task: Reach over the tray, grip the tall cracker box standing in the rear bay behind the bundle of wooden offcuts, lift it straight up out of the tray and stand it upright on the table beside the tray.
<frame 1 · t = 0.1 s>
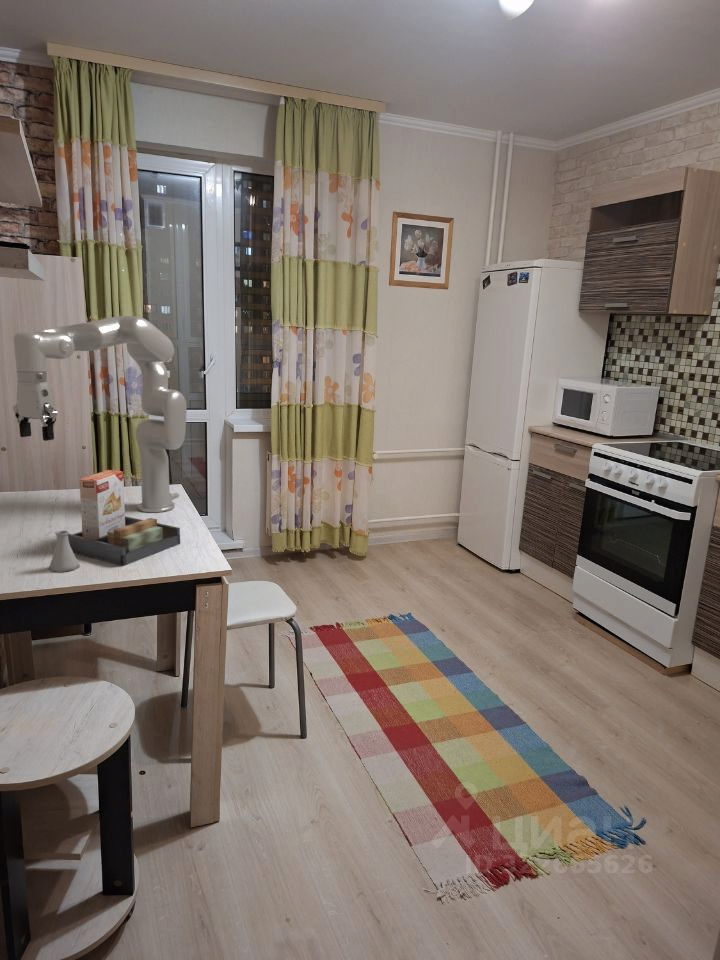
hand: (37, 438, 186), 31 cm above the table, tool pointing down, fingers open, 9 cm apart
tray: (120, 546, 192), on the table
cracker box: (105, 543, 195), resting in tray
flask: (64, 568, 174), on the table
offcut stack: (137, 550, 189), resting in tray
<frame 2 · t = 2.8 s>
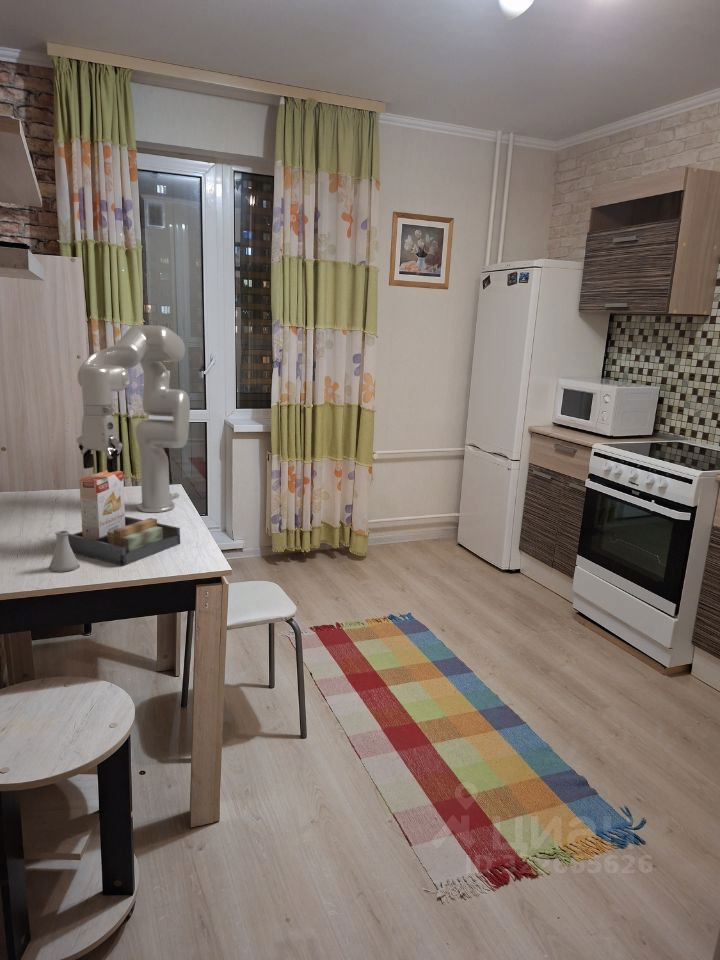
hand: (100, 469, 189), 22 cm above the table, tool pointing down, fingers open, 9 cm apart
nothing on the table moved.
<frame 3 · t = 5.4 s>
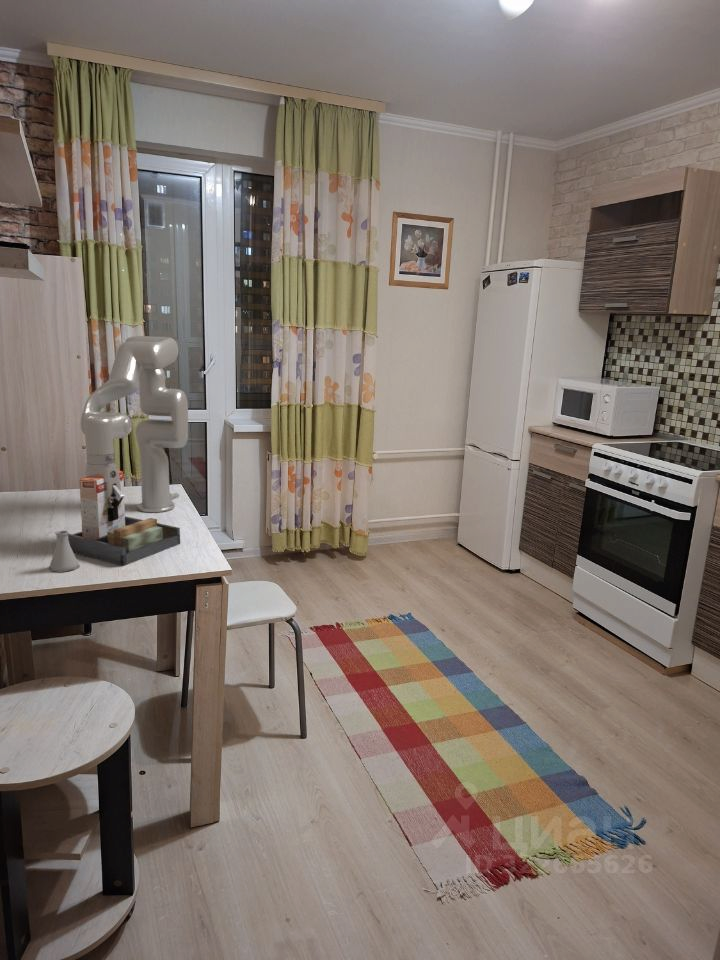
hand: (104, 517, 193), 8 cm above the table, tool pointing down, fingers closed on cracker box, 7 cm apart
cracker box: (105, 543, 195), resting in tray, touching gripper
everything else where it was.
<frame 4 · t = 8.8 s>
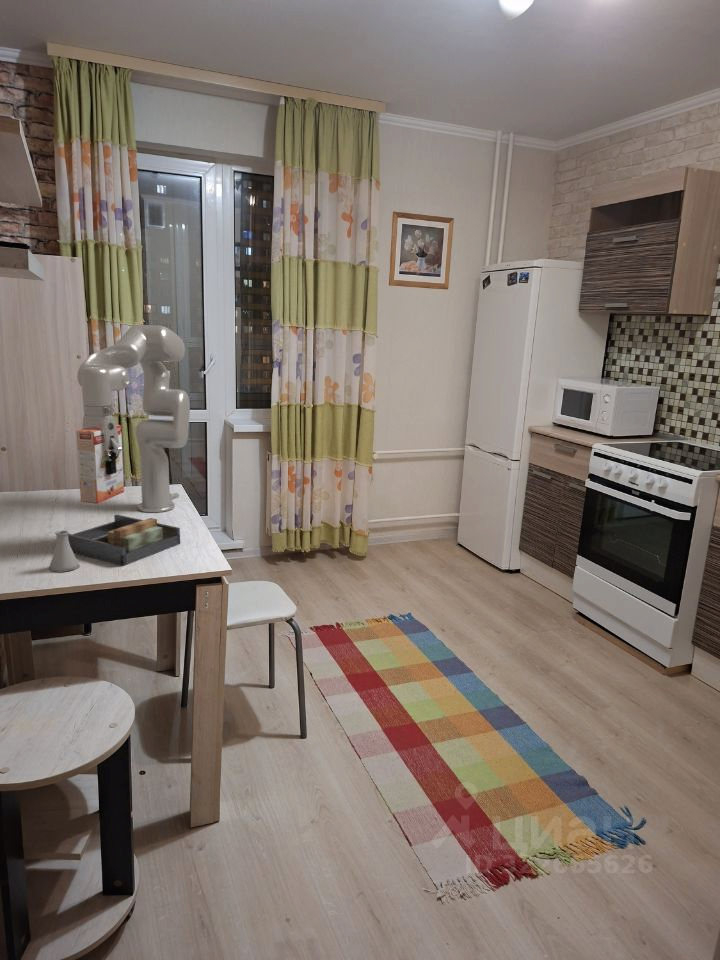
hand: (102, 471, 190), 22 cm above the table, tool pointing down, fingers closed on cracker box, 7 cm apart
cracker box: (103, 498, 192), point 14 cm above the table, touching gripper
everything else where it was.
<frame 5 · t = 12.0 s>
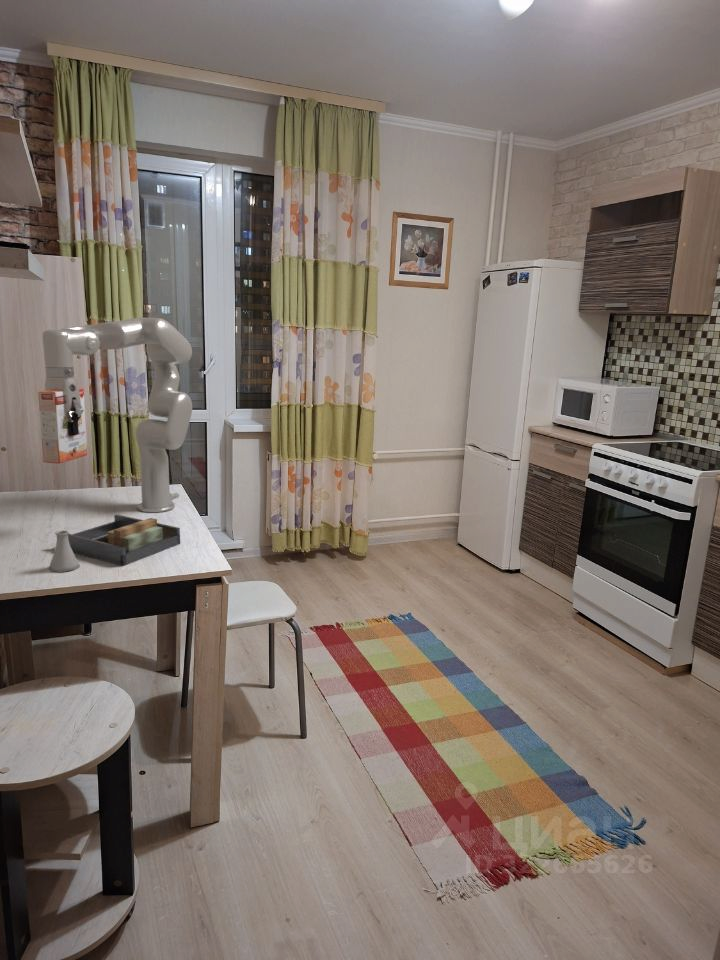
hand: (64, 433, 194), 32 cm above the table, tool pointing down, fingers closed on cracker box, 7 cm apart
cracker box: (66, 459, 196), point 24 cm above the table, touching gripper
everything else where it was.
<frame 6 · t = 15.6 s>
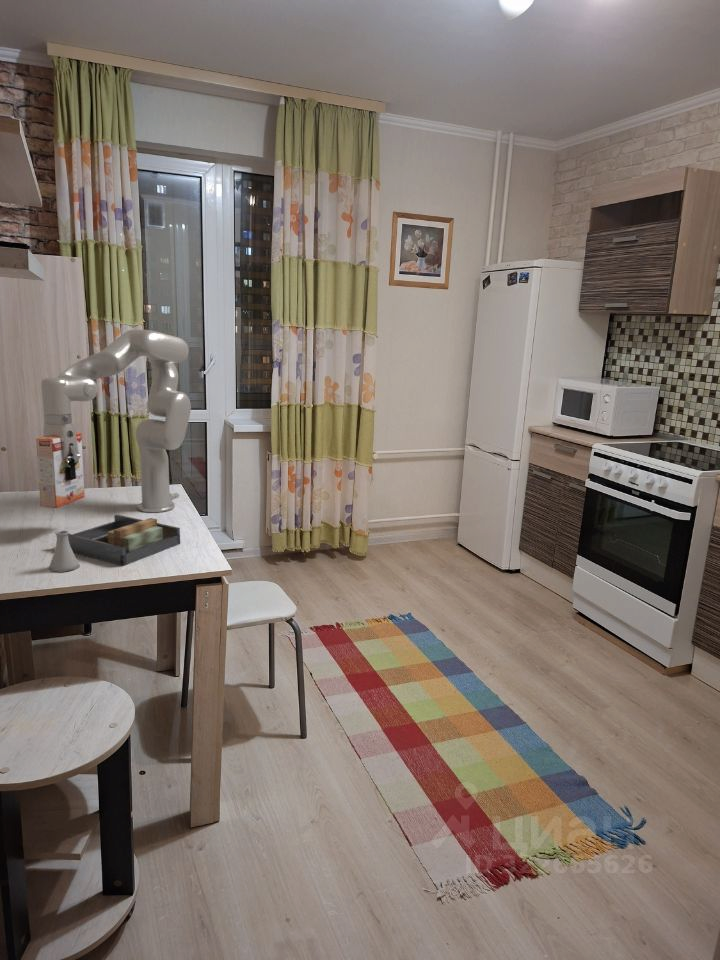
hand: (62, 477, 198), 18 cm above the table, tool pointing down, fingers closed on cracker box, 7 cm apart
cracker box: (64, 503, 200), point 10 cm above the table, touching gripper
everything else where it was.
when the fingers open (9 cm above the table, at t = 18.9 s): cracker box stays where it is, on the table.
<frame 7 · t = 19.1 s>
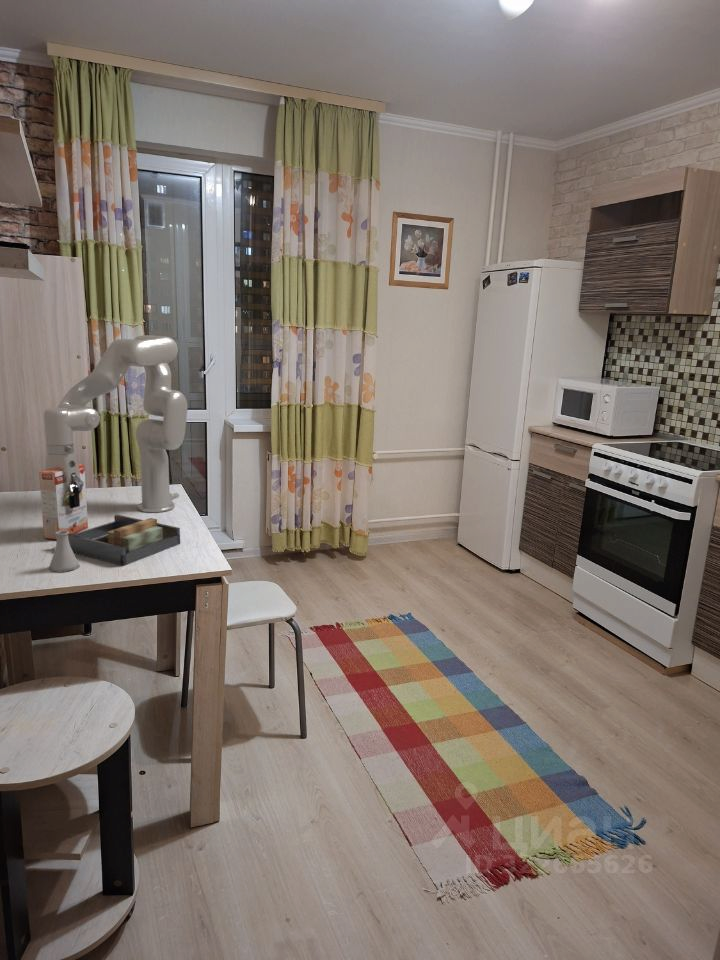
hand: (64, 504, 200), 9 cm above the table, tool pointing down, fingers open, 8 cm apart
cracker box: (67, 533, 202), on the table
everything else where it was.
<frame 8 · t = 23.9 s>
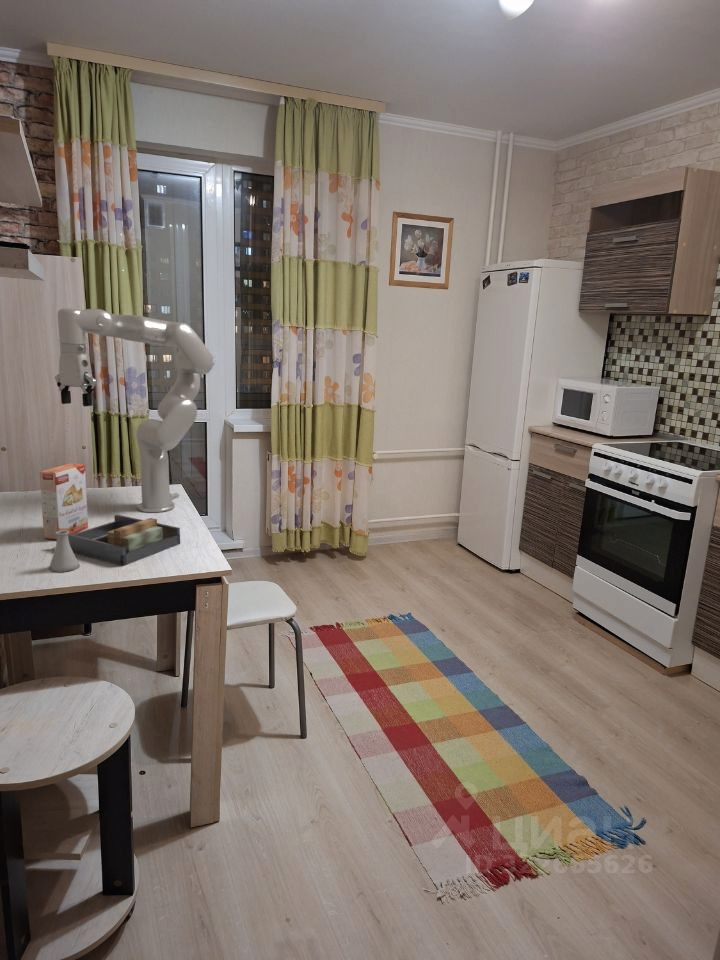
hand: (77, 404, 207), 38 cm above the table, tool pointing down, fingers open, 9 cm apart
nothing on the table moved.
at the end: cracker box inside the target area (0.2 cm from its centre), on the table; cracker box tilted 0°; the gripper is holding nothing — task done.
